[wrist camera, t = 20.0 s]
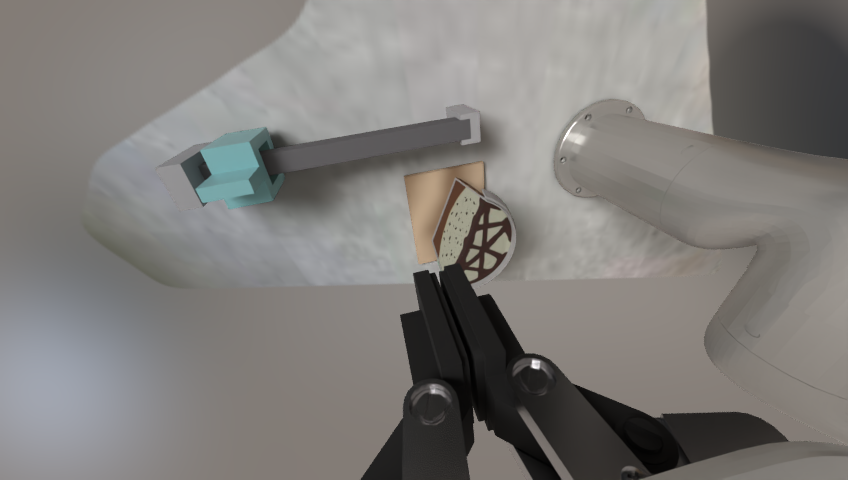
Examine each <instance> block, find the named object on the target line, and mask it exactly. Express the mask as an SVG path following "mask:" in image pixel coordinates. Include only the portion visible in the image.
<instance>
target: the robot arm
mask: <svg viewBox="0 0 848 480" xmlns="http://www.w3.org/2000/svg"><path fill="white" fill-rule="evenodd" d="M554 171H555V175H556V178H557V180H558V182H559V184H560V185H561V186H562V187H563V188H564V189H565V190H567V191H568V192H570V193H571V194H573V195H576V196H580V197H594V196H598V195H599V196H601V197H603V198H605V199H607V200H608V201H610V202H612V203H614V204H615V205H617V206H619V207H621V208H622V209H624V210H626V211H628V212H629V213H631V214H633V215H635V216H637V217H638V218H640V219H642V220H644V221H645V222H647V223H649V224H651V225H652V226H654V227H656V228H658V229H660V230H661V231H663V232H665V233H667V234H669V235H671V236H672V237H674V238H676V239H678V240H679V241H681V242H684V243H686V244H688V245H691V246H694V247H698V248H704V249H730V248H731V249H732V248H740V247H747V246H753V245H757V251H756V254H755V256H754V257H753V259H752V261H751V262H750V264H749V265H748V267H747V270H746V271H745V273H744V274H743V275H742V277H741V278H740V279H739V281H738V282H737V284H736V285H735V287H734V288H733V289H732V291H731V292H730V293H729V295H728V296H727V298H726V299H725V300H724V302H723V303H722V305H721V306H720V307H719V309H718V311H717V312H716V314H715V315H714V316H713V318H712V320H711V322H710V323H709V325H708V327H707V329H706V332H705V336H704V346H705V349H706V352H707V354H708V356H709V358H710V359H711V361H712V362H713V364H714V365H715V366H716V367H717V368H718V369H719V370H720V371H721V373H723V374H724V375H725V376H726V377H727V378H728V379H729V380H731V381H732V382H733V383H735V384H736V385H737V386H739V387H740V388H741V389H743V390H744V391H746V392H747V393H749V394H750V395H752V396H754V397H756V398H757V399H759V400H760V401H762V402H764V403H765V404H767V405H769V406H771V407H773V408H775V409H776V410H778V411H780V412H782V413H784V414H785V415H787V416H790V417H791V418H794V419H795V420H797V421H799V422H801V423H803V424H805V425H807V426H809V427H811V428H813V429H815V430H817V431H819V432H821V433H823V434H825V435H827V436H829V437H831V438H833V439H835V440H837V441H839V442H841V443H843V444H845V445H847V446H845V445H839V444H833V443H825V442H811V441H788V440H787V438H786V437H785V436H784V435H783V434H782V433H780V432H779V431H778V430H777V429H776V428H775V427H774V426H772V425H771V424H769V423H768V422H766V421H764V420H762V419H761V418H759V417H756V416H753V415H750V414H748V413H741V412H714V413H713V412H712V413H675V414H673V413H671V414H661V416H660V417H657V418H653V417H651V416H649V415H648V414H646V413H644V412H641V411H639V410H636V409H634V408H631V407H629V406H626V405H624V404H622V403H619V402H617V401H614V400H612V399H609V398H607V397H604V396H602V395H600V394H597V393H595V392H592V391H590V390H587V389H585V388H582V387H580V386H577V385H575V384H573V383H571V382H570V380H569V379H568V378H567V377H566V376H565V375H564V373H563V372H562V371H561V370H560V369H559V368H558V367H557V366H556V365H555V364H554V363H553V362H552V361H551V360H550V359H548V358H546V357H544V356H541V355H538V354H534V353H532V354H531V353H524V351H523V349H522V347H521V346H520V344H519V342H518V341H517V339H516V337H515V335H514V334H513V332H512V330H511V328H510V327H509V325H508V323H507V322H506V320H505V318H504V316H503V315H502V313H501V311H500V310H499V309H498V306H497V305H496V303H495V301H494V299H493V298H492V297H491V295H489V294H487V295H482V296H478V297H477V296H476V293H475V292H474V290H473V288H472V286H471V284H470V282H469V280H468V278H467V276H466V274H465V272H464V270H463V269H462V267H461V265H460V263H456V264H452V265H447V266H444V271H439V276H440V284H441V287H440V284H439V281H438V279H437V276H436V274H435V273H429V271H428V270H425V271H421V272H416V273H413V276H414V282H415V287H416V293H417V298H418V303H419V309H420V310H419V311H415V312H410V313H406V314H402V315H400V317H401V322H402V328H403V333H404V338H405V343H406V348H407V353H408V359H409V364H410V369H411V375H412V380H413V386H412V387H411V388H410V389H409V390H408V392H407V394H406V396H405V398H404V403H403V418H402V420H401V421H400V423H399V424H398V426H397V427H396V429H395V430H394V432H393V433H392V435H391V436H390V438H389V439H388V441H387V442H386V443H385V445H384V446H383V448H382V449H381V451H380V452H379V453H378V455H377V456H376V458H375V459H374V461H373V462H372V464H371V465H370V467H369V468H368V469H367V471H366V472H365V474H364V475H363V477H362V478H361V480H470V475H469V468H468V462H467V456H468V454H469V452H470V450H471V448H472V445H473V443H474V431H473V423H474V417H473V408H474V410H475V413H476V416H477V419H478V421H484V420H485V423H486V426H487V429H488V431H490V430H494V433H495V435H496V436H497V437H499V438H501V439H503V440H505V441H506V443H507V445H508V448H509V450H510V452H511V453H512V455H513V457H514V459H515V460H516V462H517V464H518V466H519V468H520V469H521V471H522V473H523V475H524V477H525V478H526V480H848V160H847V159H840V158H831V157H823V156H816V155H810V154H805V153H798V152H793V151H788V150H783V149H777V148H772V147H767V146H762V145H758V144H753V143H749V142H744V141H738V140H733V139H729V138H724V137H720V136H715V135H711V134H706V133H702V132H697V131H693V130H688V129H684V128H679V127H675V126H670V125H666V124H661V123H656V122H652V121H647V120H645V118H644V115H643V114H642V112H641V111H640V109H639V108H638V107H636V106H635V105H634V104H632V103H630V102H628V101H624V100H618V99H608V100H603V101H599V102H597V103H594V104H592V105H590V106H589V107H587V108H585V109H584V110H583V111H581V112H580V113H579V114H578V115H577V116H575V117H574V119H573V120H572V121H571V122H570V123H569V124H568V126H567V127H566V129H565V130H564V132H563V133H562V135H561V137H560V139H559V141H558V144H557V147H556V150H555V155H554Z"/></svg>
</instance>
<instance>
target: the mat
mask: <svg viewBox="0 0 848 480" xmlns="http://www.w3.org/2000/svg"><path fill="white" fill-rule="evenodd" d="M455 177H456V178H459V179H462V180H463V181H465V182H467V183H468V184H470V185H471V186H472V187H474V188H475V189H477V190H478V191H480V192H481V193H482V194H483V192H482V189H484V163H483V162H482V161H479V162H474V163H469V164H463V165H458V166H453V167H448V168H442V169H437V170H432V171H427V172H422V173H416V174H411V175H406V176H404V179H405V185H406V191H407V197H408V203H409V209H410V215H411V221H412V227H413V233H414V239H415V245H416V251H417V257H418V262H419V264H422V263H427V262H431V261H436V260H437V258H436V254H435V251H434V248H433V245H432V241H431V240H432V237H433V235H434V232H435V229H436V227H437V224H438V222H439V219H440V216H441V214H442V211H443V208H444V206H445V203H446V200H447V198H448V195H449V192H450V190H451V187H452V184H453V182H454V179H455Z"/></svg>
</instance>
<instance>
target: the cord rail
mask: <svg viewBox="0 0 848 480" xmlns="http://www.w3.org/2000/svg"><path fill="white" fill-rule="evenodd" d="M446 112H447V118H446V119H440V120H435V121H429V122H423V123H417V124H412V125H406V126H400V127H395V128H389V129H383V130H377V131H372V132H366V133H360V134H354V135H349V136H343V137H337V138H332V139H326V140H320V141H314V142H309V143H303V144H297V145H292V146H286V147H280V148H274V149H269V150H263V151H259V152H260V155H261V157H262V160H263V162H264V165H265V168H266V170H267V173H268V175H269V176H271V175H276V174H281V173H287V172H292V171H298V170H303V169H309V168H314V167H320V166H325V165H331V164H336V163H342V162H347V161H352V160H358V159H363V158H369V157H374V156H380V155H385V154H391V153H396V152H402V151H407V150H413V149H418V148H423V147H429V146H434V145H440V144H445V143H451V142H456V141H457V142H459V143H460V144H461V145H467V144H472V143H478V142H481V139H480V112H479V111H477V110H475V109H472V108H470V107H468V106H466V105H463V104H462V105H456V106H450V107H446ZM210 143H212V142H210ZM210 143H204V144H198V145H194V146H192V147H190V148H189V149H187V150H185V151H183V152H182V153H180V154H178V155H177V156H175V157H173V158H171V159H170V160H168V161H166V162H164V163H163V164H161V165H159V166H157V167H156V168H155V170H156V172H157V173H158V175H159V177H160V179H161V180H162V182H163V184H164V185H165V187H166V189H167V191H168V192H169V194H170V196H171V197H172V199H173V201H174V203H175V204H176V206H177V208H178V209H179V211H185V210H190V209H195V208H201V207H204V206H205V205H206V204H207V202H206V203H202V201H201V199H200V197H199V195H198V193H197V191H196V188H197V187H198V186H199V185H201V184H202V183H203V182H204V181H205V180H206V179H208V178H209V177H210V176H211V175H212V174H211V172H210V170H209V168H208V166H207V164H206V162H205V160H204V158H203V156H202V154H201V152H200V150H201V149H202V148H204V147H206V146H207V145H209V144H210Z"/></svg>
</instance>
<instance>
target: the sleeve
mask: <svg viewBox="0 0 848 480" xmlns="http://www.w3.org/2000/svg"><path fill="white" fill-rule="evenodd" d="M269 149H274V146H273V144H272V141H271V138H270V136H269V133H268V130H267V128H266V127H263V128H257V129H252V130H246V131H240V132H234V133H228V134H225V135H223V136H221V137H220V138H218V139H217V140H215V141H213V142H212V143H210V144H209V145H207V146H206V147H204V148H202V149H201V150H200V152H201V154H202V156H203V158H204V160H205V162H206V164H207V166H208V168H209V170H210V172H211V174H212V175H211V176H210V177H209V178H208V179H206V180H205V181H204V182H203V183H202V184H201V185H199V186H198V187H197V188H196V191H197V193H198V195H199V197H200V199H201V201H202V203H206V202H211V201H217V200H222V199H224V200H225V202H226V204H227V207H228V209H233V208H238V207H244V206H249V205H254V204H259V203H265V202H270V201H273V200H274V198H275V197H276V195H277V193H278V191H279V189H280V187H281V185H282V183H283V181H284V180H285V176H284V173H281V174H276V175H271V176H269V175H268V173H267V170H266V168H265V165H264V162H263V160H262V157H261V155H260V152H259V151H263V150H269Z"/></svg>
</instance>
